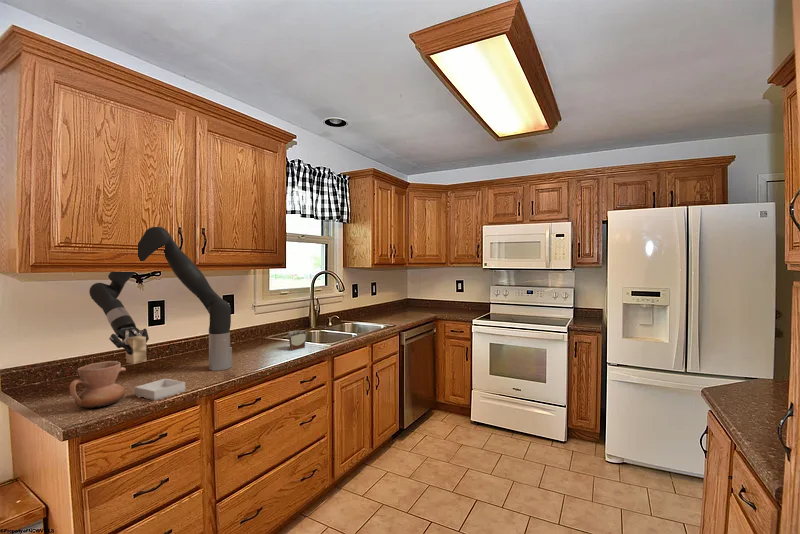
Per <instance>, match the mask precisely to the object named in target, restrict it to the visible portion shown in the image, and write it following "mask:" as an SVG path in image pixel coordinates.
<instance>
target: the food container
mask: <svg viewBox="0 0 800 534" xmlns="http://www.w3.org/2000/svg"><path fill="white" fill-rule="evenodd" d="M307 334H308V333H307V330H293V331H289V332H288V333H287V338H288V341H289V350H290V351H293V352H294V351H298V350H302V349H305V348H306V340H307V339H306V337H307Z"/></svg>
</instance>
